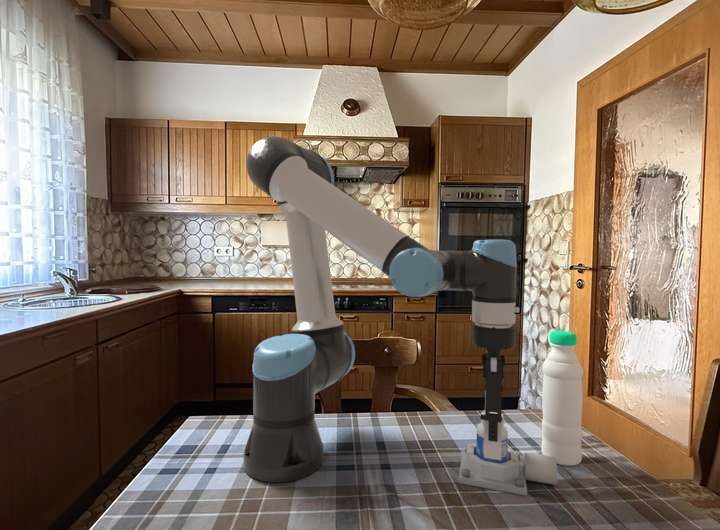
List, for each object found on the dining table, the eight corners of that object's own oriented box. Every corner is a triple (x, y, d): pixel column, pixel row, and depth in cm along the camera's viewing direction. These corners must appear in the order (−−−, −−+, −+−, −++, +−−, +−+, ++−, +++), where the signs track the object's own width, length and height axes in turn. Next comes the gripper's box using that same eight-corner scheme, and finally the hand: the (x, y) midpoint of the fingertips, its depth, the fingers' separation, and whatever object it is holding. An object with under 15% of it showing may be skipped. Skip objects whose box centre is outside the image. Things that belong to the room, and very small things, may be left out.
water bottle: (587, 469, 72) (589, 336, 71) (546, 465, 73) (548, 334, 73) (574, 451, 79) (576, 329, 78) (537, 447, 80) (539, 327, 80)
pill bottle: (477, 457, 74) (478, 406, 74) (507, 463, 72) (508, 411, 72) (474, 471, 69) (475, 417, 69) (506, 478, 67) (507, 423, 67)
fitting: (458, 483, 67) (459, 458, 67) (462, 453, 78) (463, 431, 78) (560, 502, 62) (561, 475, 62) (550, 467, 73) (550, 444, 72)
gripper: (521, 339, 57) (519, 480, 58) (511, 315, 81) (510, 416, 81) (468, 335, 60) (467, 471, 60) (474, 314, 83) (473, 411, 84)
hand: (492, 439), depth 71 cm, fingers open, 13 cm apart
